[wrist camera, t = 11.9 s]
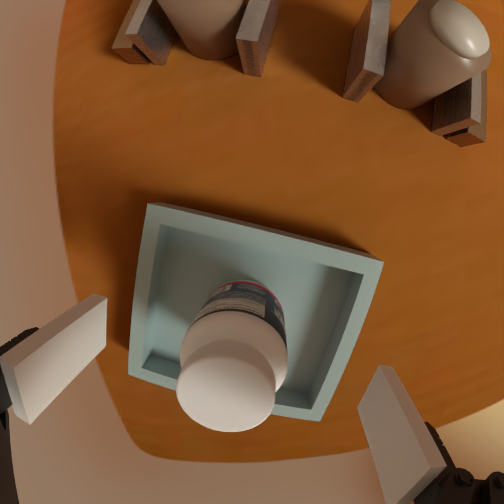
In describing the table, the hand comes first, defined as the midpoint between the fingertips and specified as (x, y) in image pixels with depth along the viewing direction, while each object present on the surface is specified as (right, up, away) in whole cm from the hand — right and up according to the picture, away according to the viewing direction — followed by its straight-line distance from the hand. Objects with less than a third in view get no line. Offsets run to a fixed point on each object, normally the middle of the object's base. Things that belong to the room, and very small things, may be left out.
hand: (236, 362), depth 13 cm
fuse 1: (-2, +20, +4) cm, 20 cm away
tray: (0, +1, +7) cm, 7 cm away
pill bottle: (0, +1, +7) cm, 7 cm away
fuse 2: (+11, +17, +4) cm, 20 cm away
